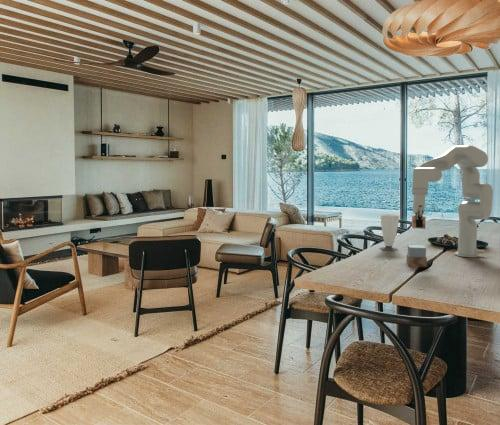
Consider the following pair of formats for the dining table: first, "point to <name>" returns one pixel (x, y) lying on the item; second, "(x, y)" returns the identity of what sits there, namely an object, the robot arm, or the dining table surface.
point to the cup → (389, 230)
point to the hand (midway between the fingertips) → (418, 226)
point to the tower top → (417, 251)
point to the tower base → (416, 261)
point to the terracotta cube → (415, 222)
